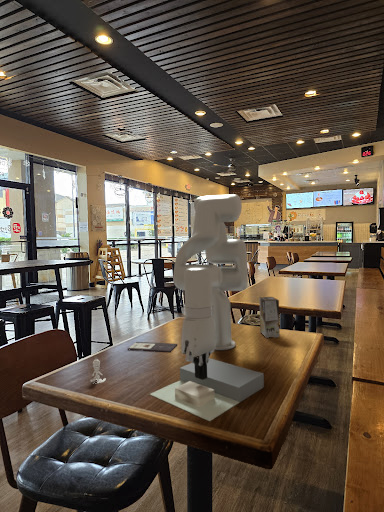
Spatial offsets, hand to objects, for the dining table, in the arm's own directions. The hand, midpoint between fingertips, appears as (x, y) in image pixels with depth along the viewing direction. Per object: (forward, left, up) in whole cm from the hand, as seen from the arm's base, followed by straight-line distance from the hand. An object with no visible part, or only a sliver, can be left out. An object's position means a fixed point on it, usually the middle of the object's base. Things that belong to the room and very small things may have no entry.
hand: (201, 377), depth 96 cm
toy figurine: (-31, -14, -5) cm, 35 cm away
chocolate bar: (-43, +18, -5) cm, 47 cm away
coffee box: (-15, +62, -5) cm, 63 cm away
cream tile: (0, -3, -2) cm, 4 cm away
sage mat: (0, -3, -5) cm, 6 cm away
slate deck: (0, +9, -5) cm, 10 cm away
